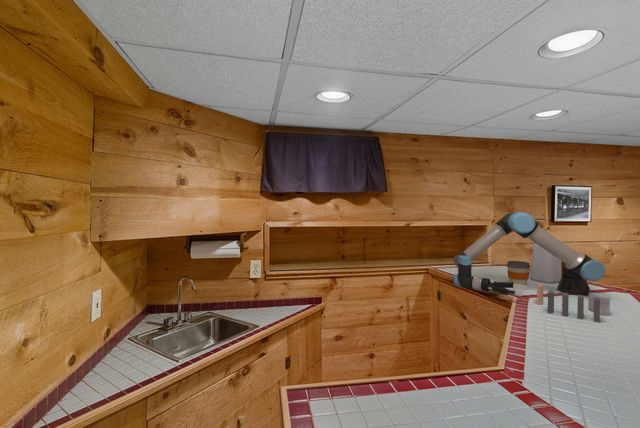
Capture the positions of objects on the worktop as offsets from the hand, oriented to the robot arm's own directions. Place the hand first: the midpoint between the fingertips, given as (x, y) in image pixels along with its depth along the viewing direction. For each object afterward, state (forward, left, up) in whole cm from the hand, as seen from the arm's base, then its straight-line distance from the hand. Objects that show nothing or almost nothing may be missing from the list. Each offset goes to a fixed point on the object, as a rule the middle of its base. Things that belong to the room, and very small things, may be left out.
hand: (525, 290), depth 164 cm
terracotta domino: (+3, +6, -6) cm, 9 cm away
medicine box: (+10, +28, -6) cm, 30 cm away
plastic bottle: (-56, +29, -6) cm, 63 cm away
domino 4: (+23, +21, -6) cm, 32 cm away
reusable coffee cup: (-36, +7, -6) cm, 37 cm away
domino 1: (+16, +6, -6) cm, 18 cm away
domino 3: (+20, +16, -6) cm, 27 cm away
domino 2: (+18, +11, -6) cm, 22 cm away
